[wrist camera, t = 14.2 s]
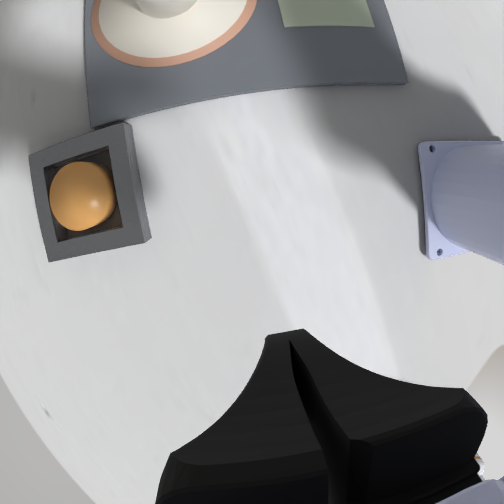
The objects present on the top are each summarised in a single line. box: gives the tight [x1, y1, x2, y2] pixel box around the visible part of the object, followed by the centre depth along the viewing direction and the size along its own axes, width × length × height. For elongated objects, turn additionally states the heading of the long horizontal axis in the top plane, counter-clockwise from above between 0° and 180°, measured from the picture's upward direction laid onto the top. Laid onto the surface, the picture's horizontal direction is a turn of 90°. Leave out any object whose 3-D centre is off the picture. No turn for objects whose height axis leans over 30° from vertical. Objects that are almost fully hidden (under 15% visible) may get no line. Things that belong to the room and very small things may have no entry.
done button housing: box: [29, 122, 152, 262], centre depth 17 cm, size 7×7×2 cm
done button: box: [49, 162, 117, 231], centre depth 17 cm, size 4×4×2 cm
